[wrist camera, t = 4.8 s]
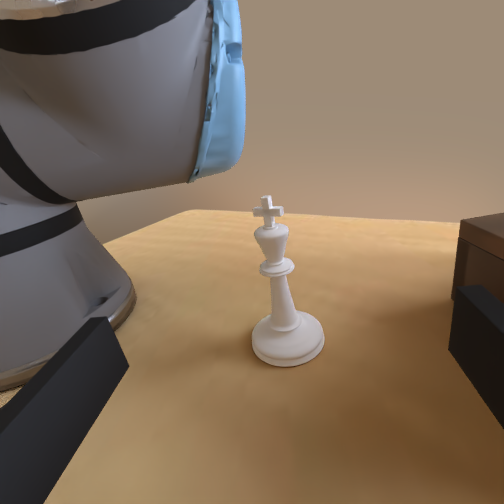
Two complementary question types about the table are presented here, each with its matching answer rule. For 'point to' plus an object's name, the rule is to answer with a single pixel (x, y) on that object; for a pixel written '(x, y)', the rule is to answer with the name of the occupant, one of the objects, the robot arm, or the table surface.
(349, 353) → the table surface
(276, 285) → the chess piece
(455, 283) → the step shelf
